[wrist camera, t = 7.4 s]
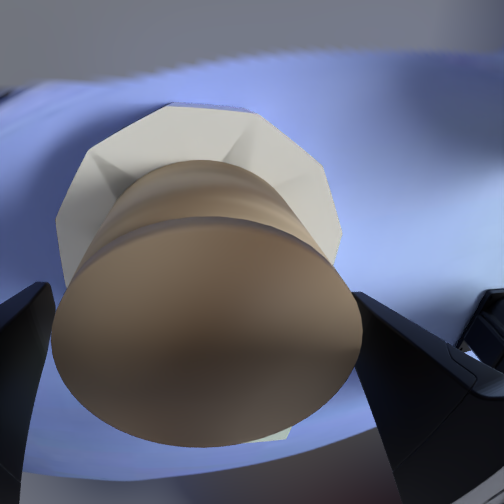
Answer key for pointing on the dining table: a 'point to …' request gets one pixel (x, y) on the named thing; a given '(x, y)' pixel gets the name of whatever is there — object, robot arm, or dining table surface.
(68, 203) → the bowl
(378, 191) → the dining table surface
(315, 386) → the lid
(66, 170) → the dining table surface
